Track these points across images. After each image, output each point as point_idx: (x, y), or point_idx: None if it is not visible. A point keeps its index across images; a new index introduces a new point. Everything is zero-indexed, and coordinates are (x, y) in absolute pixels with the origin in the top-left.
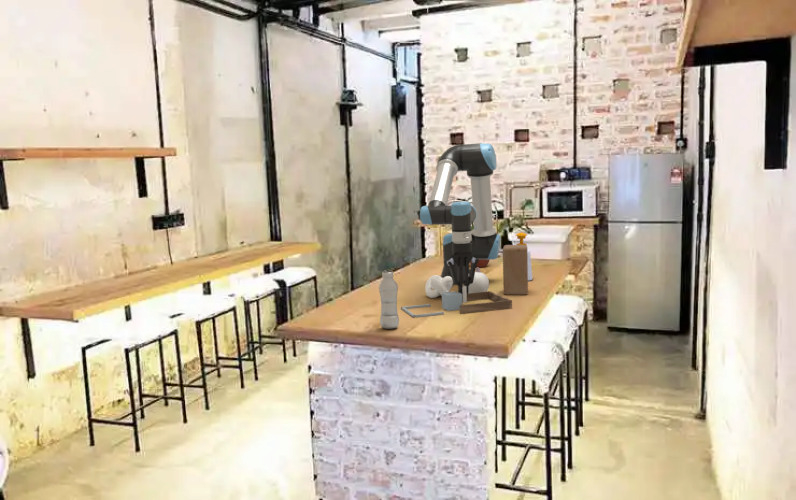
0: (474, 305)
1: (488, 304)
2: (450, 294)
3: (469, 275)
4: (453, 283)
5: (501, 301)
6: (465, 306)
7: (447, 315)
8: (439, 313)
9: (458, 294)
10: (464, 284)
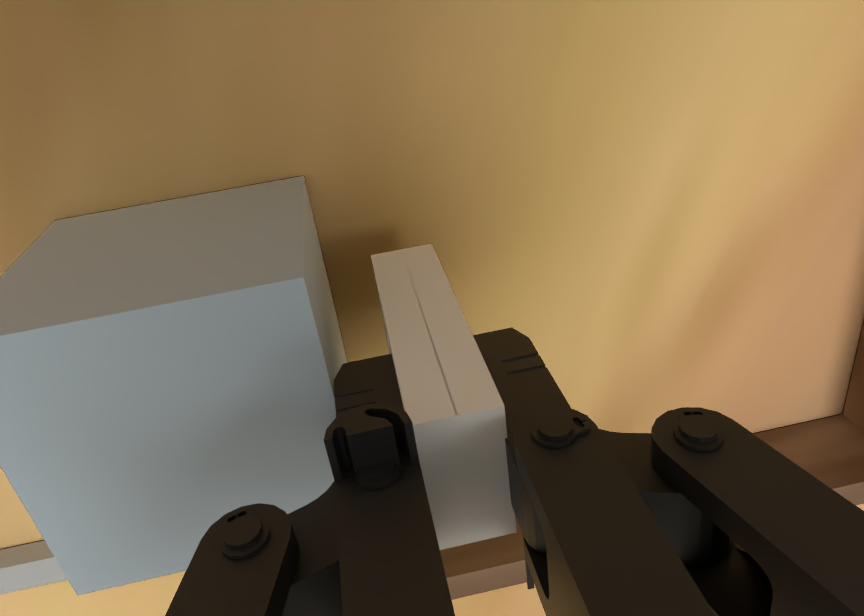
0: (469, 584)
1: None
2: (147, 538)
3: (801, 607)
4: (209, 534)
5: None
6: None
7: (130, 592)
8: (22, 582)
9: None
10: (513, 470)
